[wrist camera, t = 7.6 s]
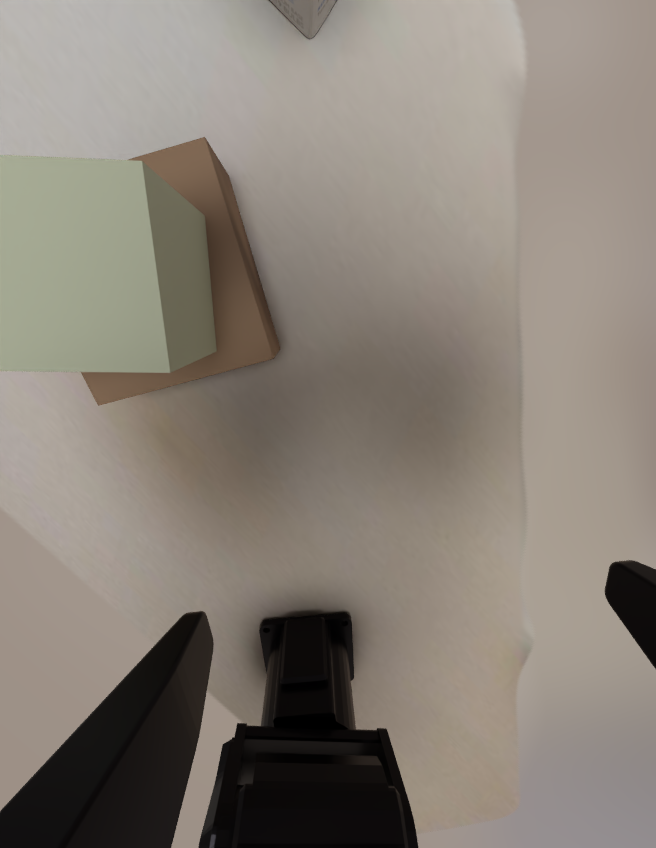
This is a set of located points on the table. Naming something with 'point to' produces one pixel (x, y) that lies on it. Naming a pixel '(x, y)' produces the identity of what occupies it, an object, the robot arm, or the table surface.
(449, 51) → the table surface
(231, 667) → the table surface
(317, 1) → the light bulb box
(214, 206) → the walnut block
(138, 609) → the table surface
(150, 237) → the sage cube
